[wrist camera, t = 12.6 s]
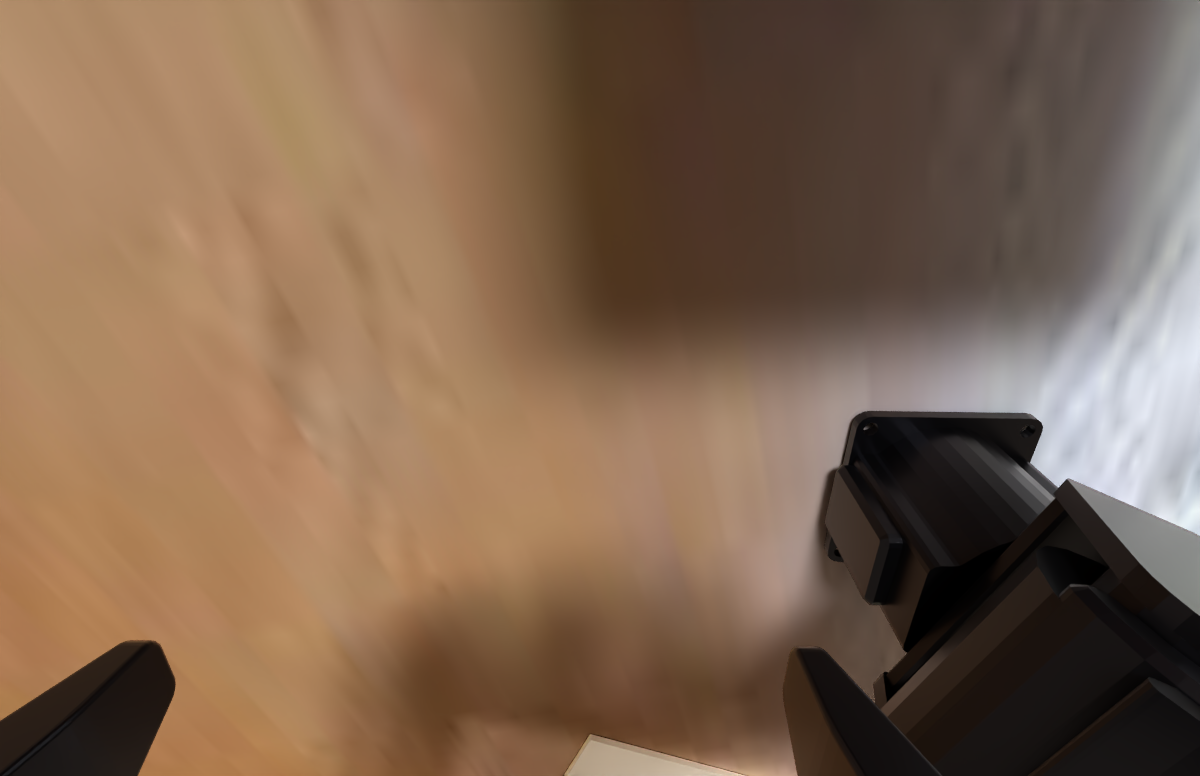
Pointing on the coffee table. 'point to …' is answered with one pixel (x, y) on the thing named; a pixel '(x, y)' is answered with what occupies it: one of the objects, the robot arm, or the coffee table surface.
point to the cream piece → (633, 762)
